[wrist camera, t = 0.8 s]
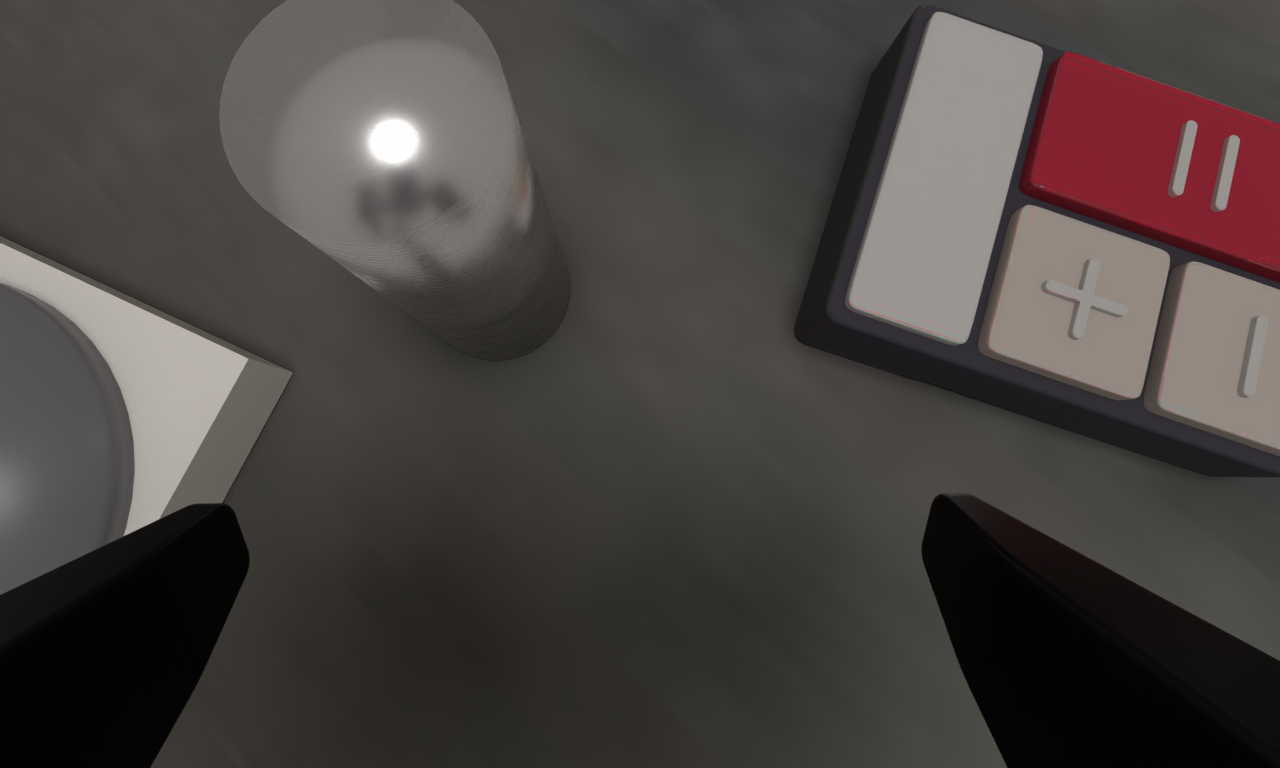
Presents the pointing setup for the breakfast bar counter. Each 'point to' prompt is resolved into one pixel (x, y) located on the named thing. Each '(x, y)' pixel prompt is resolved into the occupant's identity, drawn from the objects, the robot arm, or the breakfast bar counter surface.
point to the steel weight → (401, 163)
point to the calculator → (1060, 246)
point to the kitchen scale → (110, 414)
